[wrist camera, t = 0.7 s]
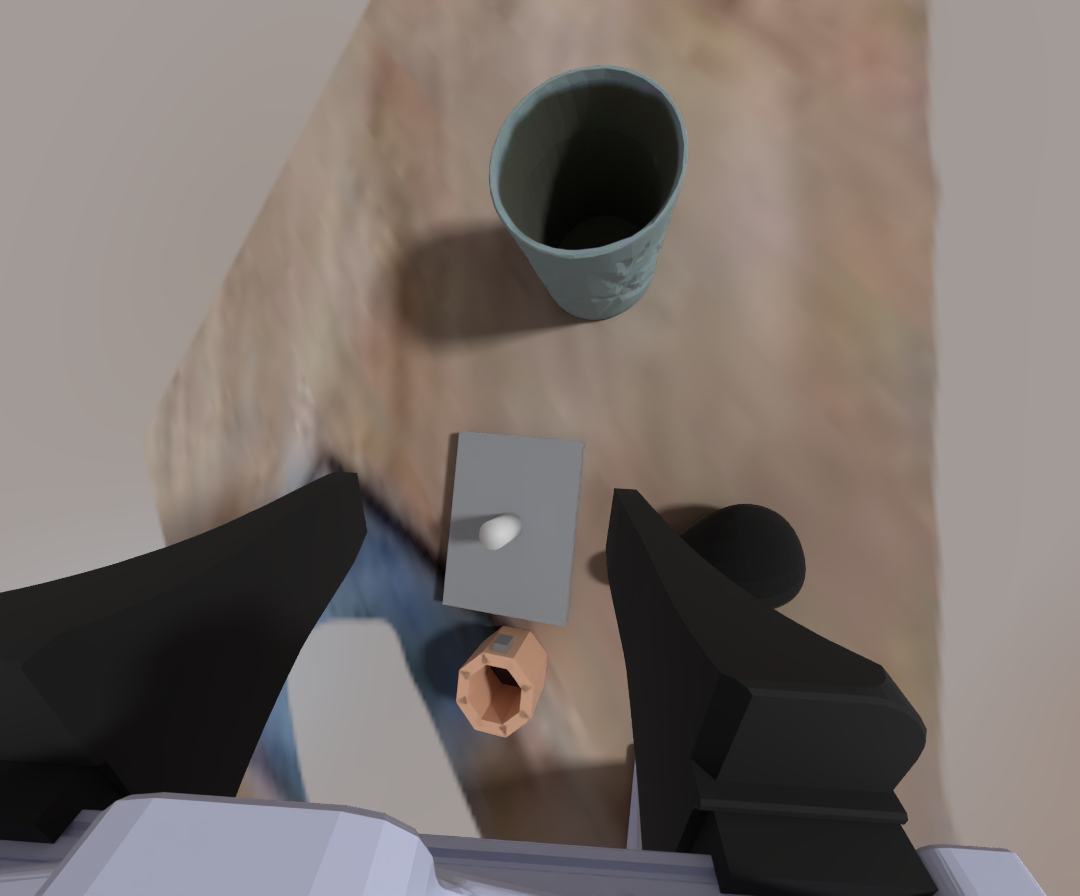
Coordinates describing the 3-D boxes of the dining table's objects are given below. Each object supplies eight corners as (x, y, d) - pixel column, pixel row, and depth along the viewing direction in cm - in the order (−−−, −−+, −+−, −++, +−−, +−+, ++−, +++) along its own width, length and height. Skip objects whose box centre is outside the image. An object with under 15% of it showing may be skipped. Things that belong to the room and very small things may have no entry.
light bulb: (601, 607, 27) (818, 588, 22) (599, 511, 31) (783, 477, 26) (636, 630, 32) (821, 619, 27) (630, 545, 36) (791, 521, 30)
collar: (543, 703, 33) (528, 743, 29) (478, 688, 34) (454, 724, 30) (550, 626, 33) (536, 654, 29) (485, 614, 34) (462, 639, 30)
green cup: (513, 273, 35) (452, 179, 23) (600, 175, 33) (582, 22, 22) (602, 355, 33) (584, 298, 21) (697, 255, 32) (735, 135, 20)
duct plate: (567, 621, 33) (554, 651, 28) (448, 599, 35) (416, 624, 30) (584, 442, 33) (575, 439, 28) (465, 431, 35) (435, 427, 30)
